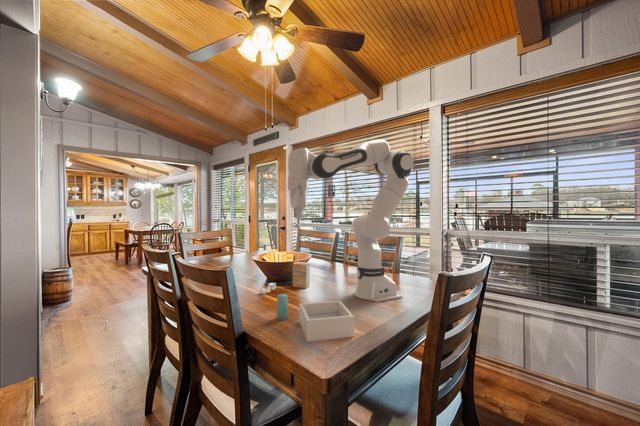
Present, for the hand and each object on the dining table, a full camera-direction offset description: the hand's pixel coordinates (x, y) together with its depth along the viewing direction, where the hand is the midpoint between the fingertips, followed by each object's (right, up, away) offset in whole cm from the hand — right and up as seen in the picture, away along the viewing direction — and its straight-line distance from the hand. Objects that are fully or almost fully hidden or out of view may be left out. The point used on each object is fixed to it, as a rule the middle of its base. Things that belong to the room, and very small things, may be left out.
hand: (297, 218), depth 123 cm
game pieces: (-17, -38, +23) cm, 48 cm away
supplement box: (0, -38, +31) cm, 49 cm away
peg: (-5, -39, -11) cm, 41 cm away
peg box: (+12, -39, -20) cm, 46 cm away
